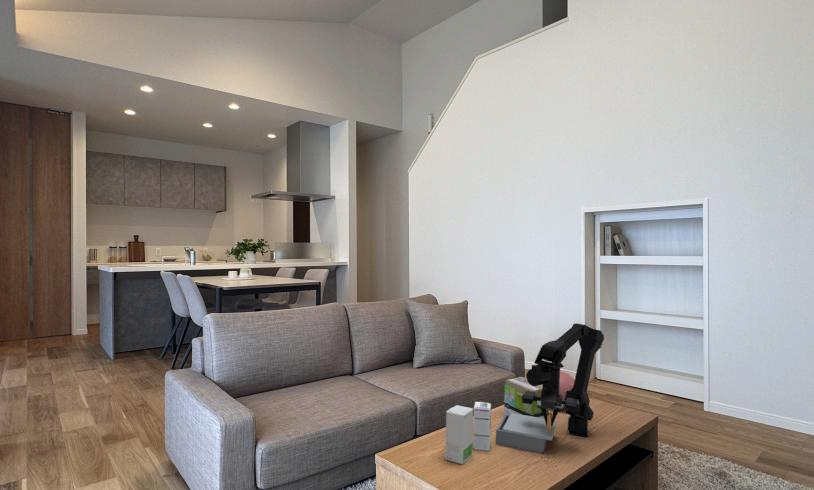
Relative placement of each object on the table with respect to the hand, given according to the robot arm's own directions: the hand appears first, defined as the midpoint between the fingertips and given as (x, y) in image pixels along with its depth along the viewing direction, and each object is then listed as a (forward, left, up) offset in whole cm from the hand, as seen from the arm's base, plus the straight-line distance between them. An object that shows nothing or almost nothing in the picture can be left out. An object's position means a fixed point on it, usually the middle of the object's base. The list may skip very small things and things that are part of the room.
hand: (549, 425), depth 159 cm
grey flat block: (+9, 0, -7) cm, 11 cm away
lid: (+6, 0, -2) cm, 7 cm away
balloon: (-2, -39, -7) cm, 40 cm away
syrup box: (+21, +12, -7) cm, 25 cm away
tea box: (+11, -20, -7) cm, 24 cm away
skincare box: (+26, +23, -7) cm, 35 cm away
